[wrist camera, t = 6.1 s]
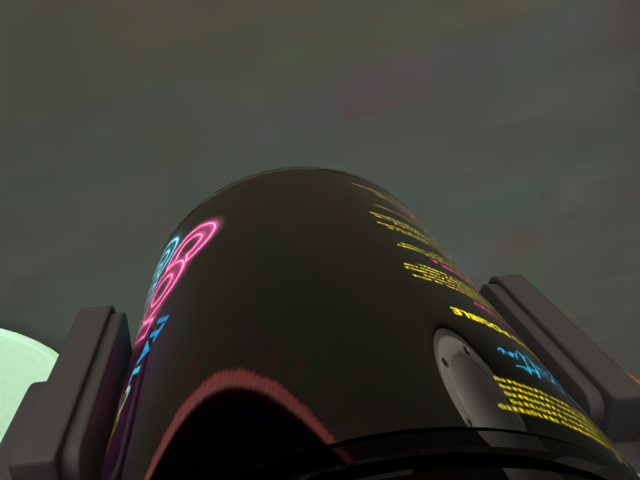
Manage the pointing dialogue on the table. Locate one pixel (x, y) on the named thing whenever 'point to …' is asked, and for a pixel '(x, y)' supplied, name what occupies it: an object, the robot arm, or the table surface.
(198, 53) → the table surface
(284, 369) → the supplement container
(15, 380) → the lid
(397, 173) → the table surface
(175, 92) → the table surface
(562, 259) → the table surface
